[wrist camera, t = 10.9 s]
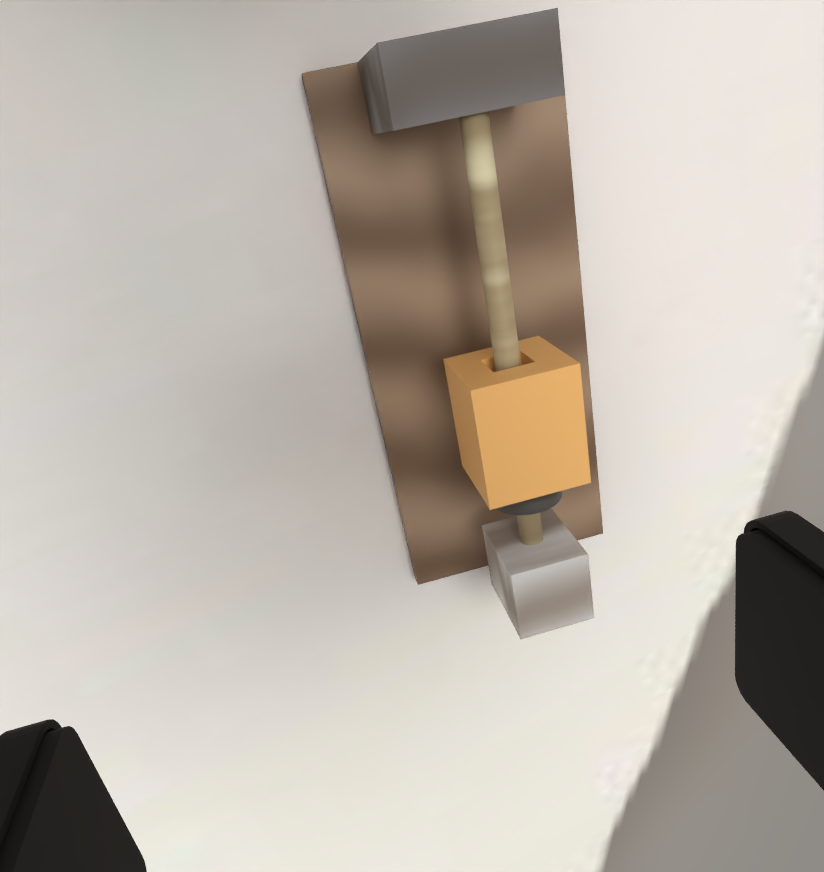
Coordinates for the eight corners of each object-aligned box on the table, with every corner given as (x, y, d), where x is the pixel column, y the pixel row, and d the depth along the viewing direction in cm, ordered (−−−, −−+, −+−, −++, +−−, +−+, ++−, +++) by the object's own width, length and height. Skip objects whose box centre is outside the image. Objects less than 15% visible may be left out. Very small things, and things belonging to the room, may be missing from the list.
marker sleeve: (443, 359, 34) (470, 390, 30) (539, 335, 35) (579, 363, 30) (462, 465, 37) (490, 509, 32) (551, 442, 37) (591, 482, 33)
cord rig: (301, 75, 31) (313, 50, 24) (550, 26, 33) (638, -13, 25) (414, 575, 43) (447, 668, 35) (595, 525, 44) (666, 604, 36)
